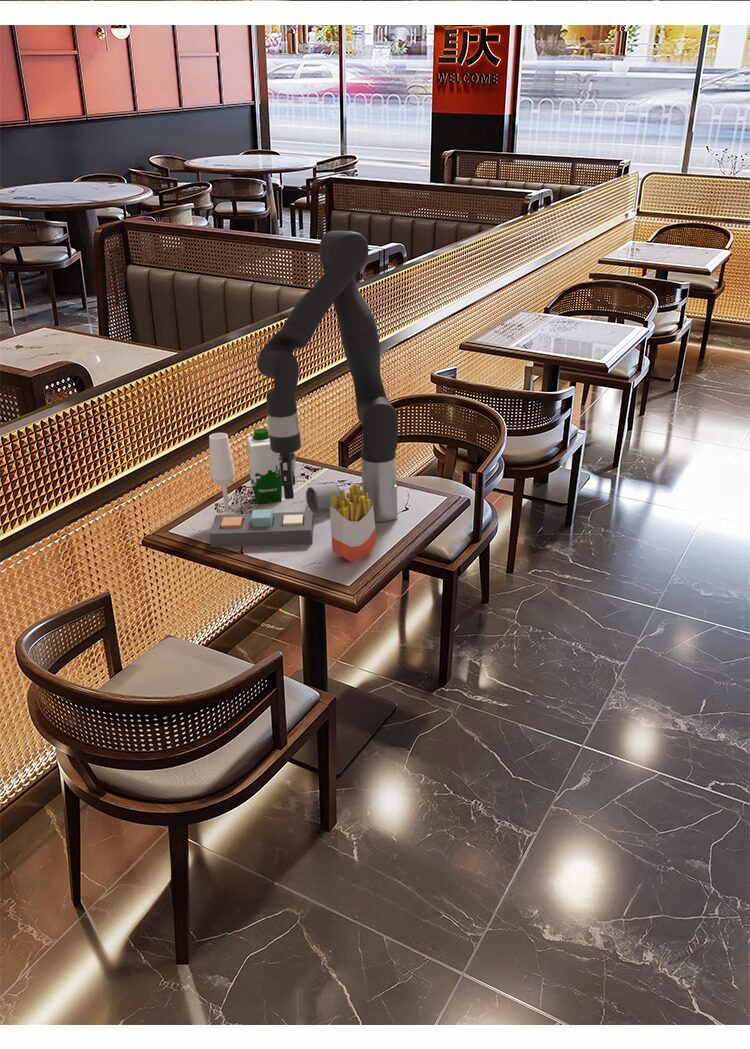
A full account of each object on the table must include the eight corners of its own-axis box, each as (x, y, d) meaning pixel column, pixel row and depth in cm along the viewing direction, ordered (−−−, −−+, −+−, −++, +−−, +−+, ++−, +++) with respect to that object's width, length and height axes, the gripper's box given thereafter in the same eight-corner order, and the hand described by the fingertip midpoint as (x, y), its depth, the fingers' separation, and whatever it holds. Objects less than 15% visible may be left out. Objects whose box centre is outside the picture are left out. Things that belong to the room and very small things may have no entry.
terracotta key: (243, 528, 228) (242, 516, 227) (241, 536, 224) (240, 525, 222) (224, 528, 228) (223, 517, 227) (222, 537, 224) (220, 525, 222)
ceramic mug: (344, 510, 239) (343, 485, 236) (319, 518, 235) (317, 492, 232) (325, 498, 247) (324, 473, 244) (300, 505, 244) (298, 480, 240)
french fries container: (377, 551, 217) (375, 486, 209) (344, 566, 210) (341, 499, 202) (364, 545, 220) (362, 480, 212) (332, 560, 213) (328, 494, 205)
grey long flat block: (314, 524, 232) (313, 511, 230) (312, 543, 222) (311, 529, 220) (217, 528, 231) (215, 514, 230) (211, 547, 221) (209, 533, 220)
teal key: (273, 520, 227) (272, 509, 226) (271, 529, 223) (270, 517, 221) (254, 521, 227) (253, 509, 226) (252, 530, 223) (251, 518, 221)
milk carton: (280, 490, 253) (275, 426, 244) (285, 502, 245) (279, 436, 236) (251, 494, 251) (244, 429, 242) (254, 506, 243) (247, 440, 234)
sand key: (303, 526, 228) (303, 514, 227) (302, 534, 224) (302, 522, 222) (285, 526, 228) (284, 515, 227) (283, 535, 224) (282, 523, 222)
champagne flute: (216, 513, 240) (206, 432, 229) (240, 511, 240) (231, 430, 230) (214, 524, 234) (204, 441, 223) (239, 522, 234) (230, 439, 224)
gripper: (298, 440, 202) (304, 502, 210) (300, 419, 215) (306, 479, 222) (266, 441, 202) (273, 504, 209) (270, 421, 215) (277, 481, 222)
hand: (290, 491), depth 216 cm, fingers open, 8 cm apart
